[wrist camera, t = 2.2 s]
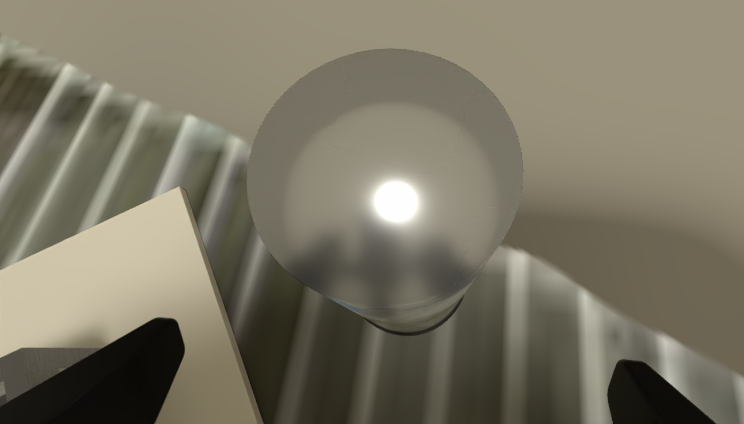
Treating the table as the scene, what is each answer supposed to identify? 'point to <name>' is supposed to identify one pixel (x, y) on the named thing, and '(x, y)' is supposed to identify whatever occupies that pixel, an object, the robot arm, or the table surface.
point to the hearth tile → (134, 304)
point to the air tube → (386, 184)
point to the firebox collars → (34, 368)
